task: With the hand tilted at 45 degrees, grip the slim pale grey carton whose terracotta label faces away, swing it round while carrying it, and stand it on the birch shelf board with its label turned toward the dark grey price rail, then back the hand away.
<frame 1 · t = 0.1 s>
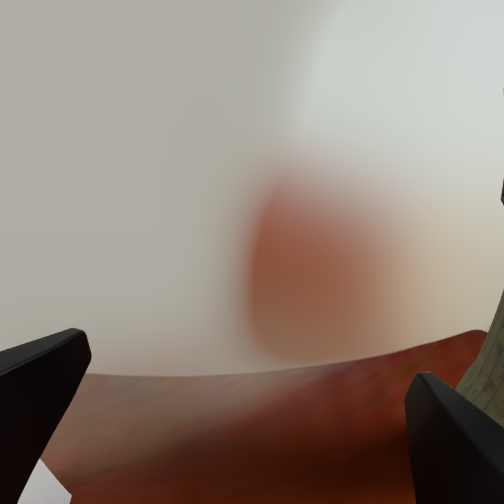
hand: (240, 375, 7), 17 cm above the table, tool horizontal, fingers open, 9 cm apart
thermos: (467, 443, 18), on the table
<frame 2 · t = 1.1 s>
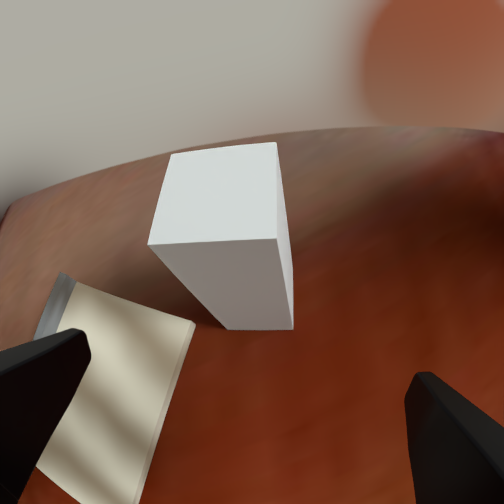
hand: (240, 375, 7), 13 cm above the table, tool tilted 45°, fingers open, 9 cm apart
shelf board: (95, 405, 19), on the table
grey carton: (261, 299, 21), on the table
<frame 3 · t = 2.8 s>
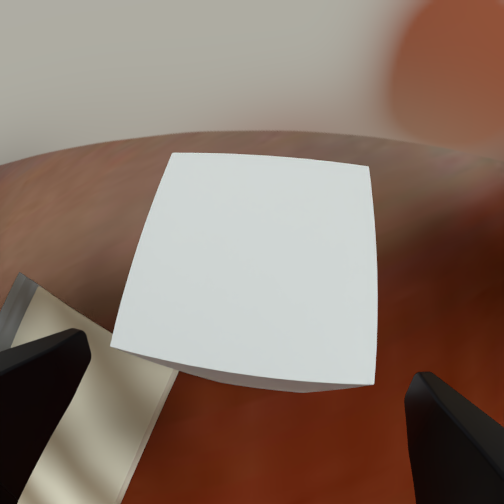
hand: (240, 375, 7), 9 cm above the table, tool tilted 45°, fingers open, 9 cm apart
shelf board: (53, 438, 14), on the table
grey carton: (266, 348, 16), on the table
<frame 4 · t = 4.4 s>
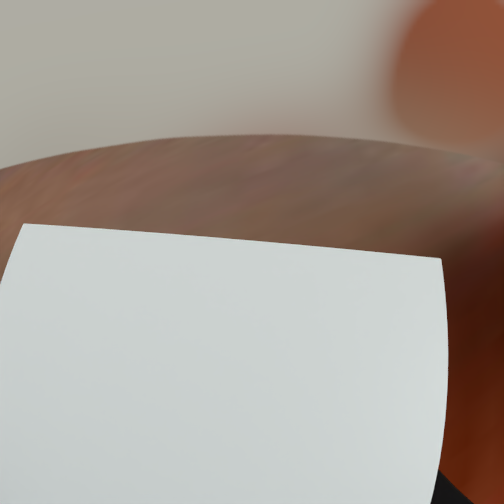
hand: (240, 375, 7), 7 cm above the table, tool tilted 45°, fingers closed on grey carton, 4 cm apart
grey carton: (250, 413, 12), on the table, touching gripper
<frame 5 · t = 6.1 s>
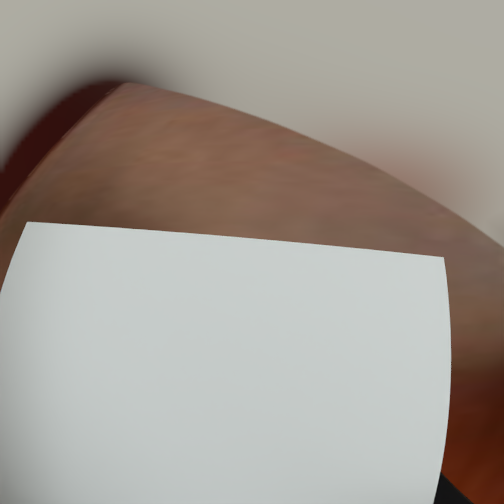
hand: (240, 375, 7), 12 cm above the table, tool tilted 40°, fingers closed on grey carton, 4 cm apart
grey carton: (251, 413, 12), point 5 cm above the table, touching gripper
when the fingers open (9 cm above the table, at t = 8.0 s): grey carton drops 1 cm, resting on shelf board.
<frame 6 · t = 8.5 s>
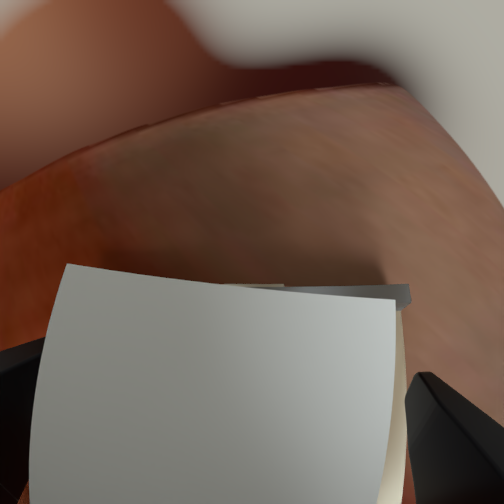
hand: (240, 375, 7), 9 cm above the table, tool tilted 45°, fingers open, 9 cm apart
shelf board: (233, 427, 14), on the table
grey carton: (251, 411, 13), point 1 cm above the table, touching shelf board
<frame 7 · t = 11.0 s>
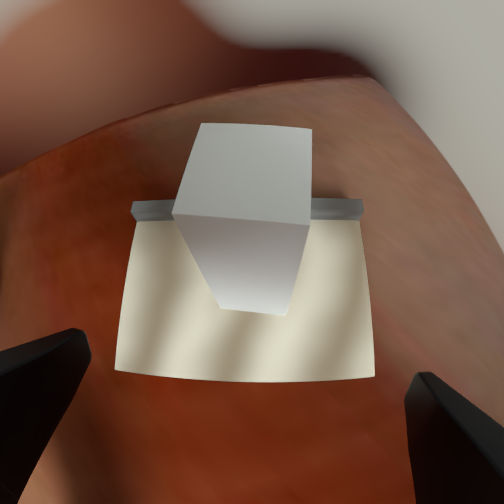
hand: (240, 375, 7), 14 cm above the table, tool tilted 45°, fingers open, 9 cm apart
shelf board: (243, 298, 22), on the table
grey carton: (256, 281, 21), point 1 cm above the table, touching shelf board
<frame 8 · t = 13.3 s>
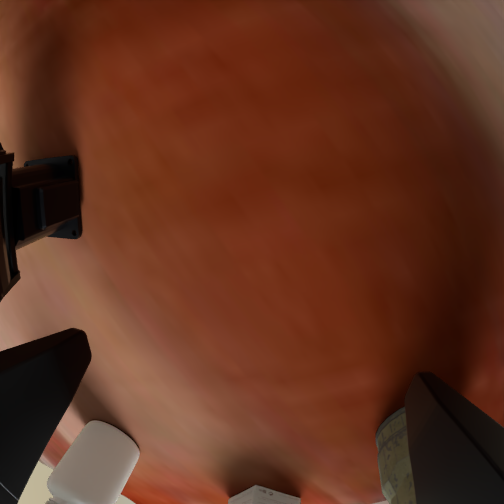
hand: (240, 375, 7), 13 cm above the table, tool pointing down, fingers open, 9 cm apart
thermos: (415, 425, 23), on the table
pill bottle: (113, 437, 30), on the table
supplement box: (264, 497, 31), on the table
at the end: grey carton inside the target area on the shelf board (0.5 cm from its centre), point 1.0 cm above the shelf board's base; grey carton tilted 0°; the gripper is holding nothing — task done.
